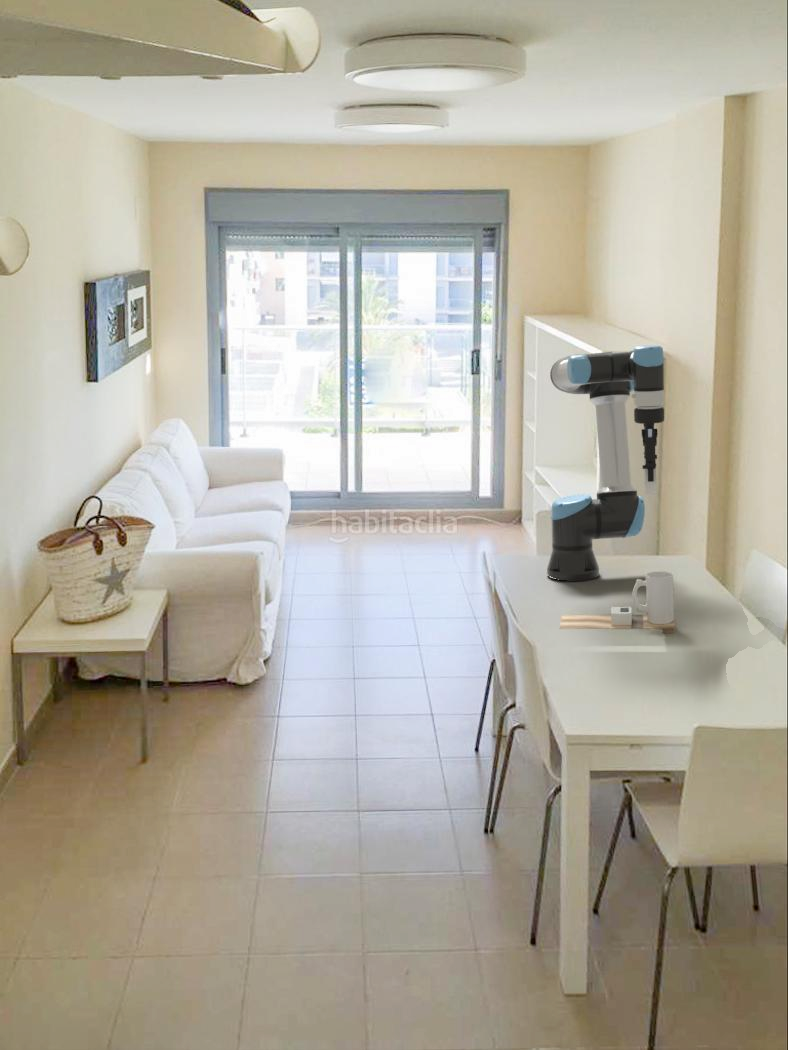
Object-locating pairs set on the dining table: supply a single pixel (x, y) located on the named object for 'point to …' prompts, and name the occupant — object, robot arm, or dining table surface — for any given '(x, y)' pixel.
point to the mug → (657, 597)
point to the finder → (621, 616)
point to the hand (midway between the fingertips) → (650, 489)
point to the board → (605, 623)
